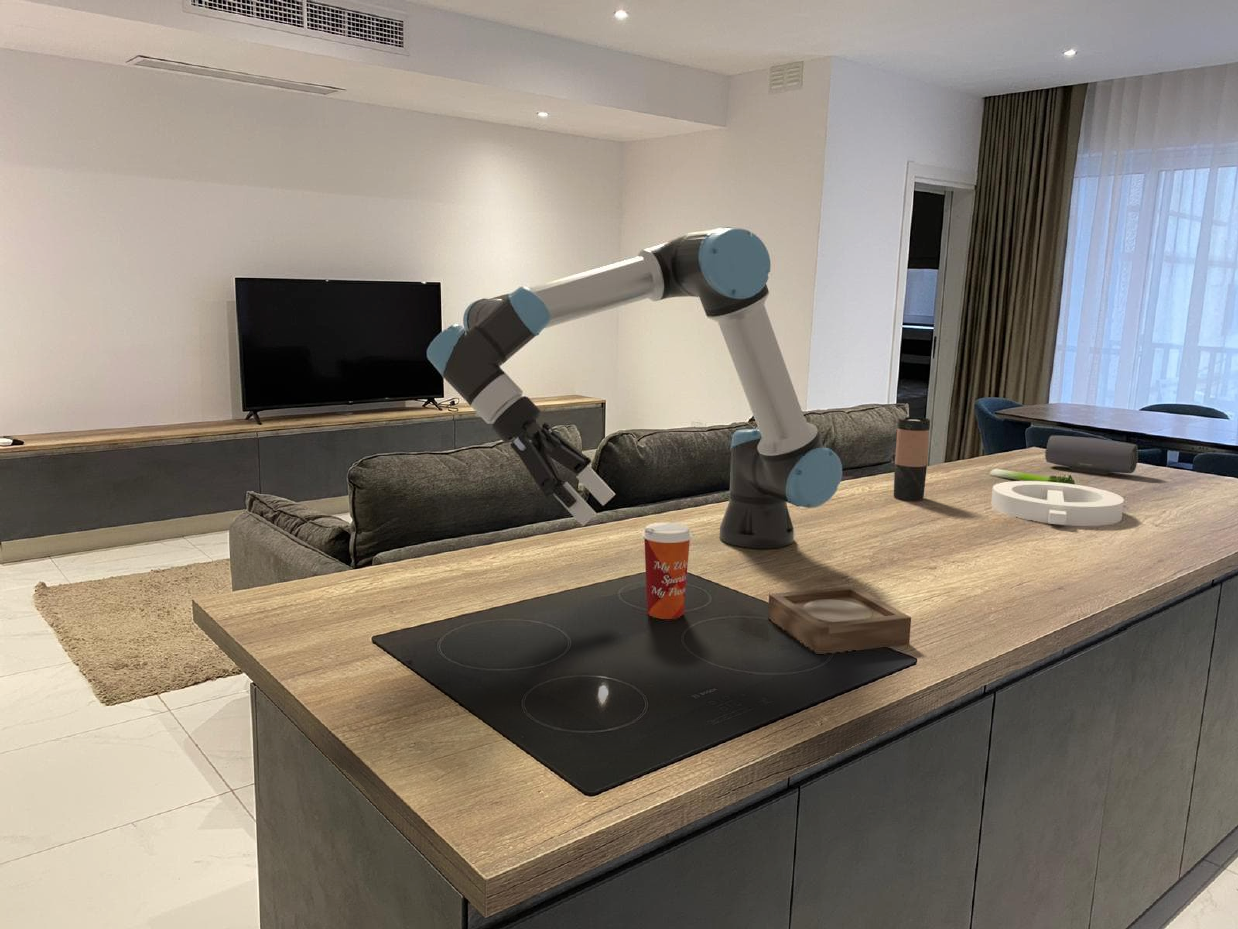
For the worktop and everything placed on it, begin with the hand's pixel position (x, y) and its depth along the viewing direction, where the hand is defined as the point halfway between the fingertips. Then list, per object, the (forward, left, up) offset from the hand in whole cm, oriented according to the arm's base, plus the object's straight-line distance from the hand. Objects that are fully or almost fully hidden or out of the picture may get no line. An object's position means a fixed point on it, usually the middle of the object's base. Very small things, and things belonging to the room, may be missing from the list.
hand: (600, 509), depth 140 cm
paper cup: (+5, +9, -16) cm, 20 cm away
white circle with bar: (-34, +124, -17) cm, 130 cm away
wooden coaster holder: (+19, +31, -16) cm, 40 cm away
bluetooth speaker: (-72, +172, -16) cm, 187 cm away
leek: (-60, +140, -17) cm, 153 cm away
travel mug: (-56, +98, -16) cm, 114 cm away
